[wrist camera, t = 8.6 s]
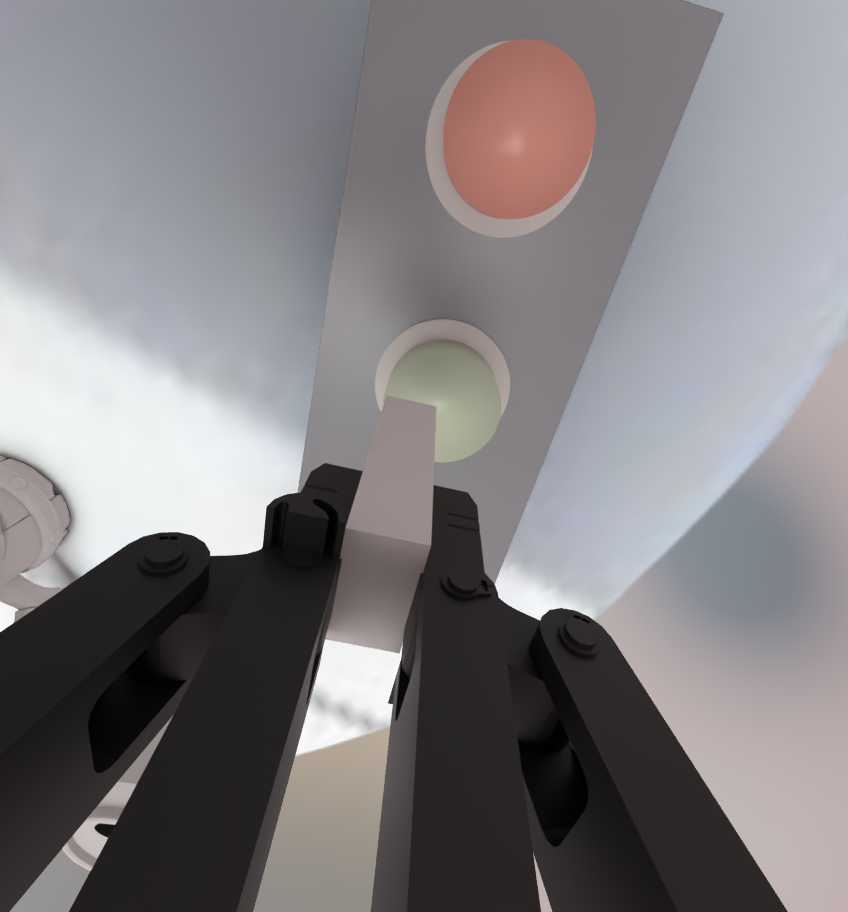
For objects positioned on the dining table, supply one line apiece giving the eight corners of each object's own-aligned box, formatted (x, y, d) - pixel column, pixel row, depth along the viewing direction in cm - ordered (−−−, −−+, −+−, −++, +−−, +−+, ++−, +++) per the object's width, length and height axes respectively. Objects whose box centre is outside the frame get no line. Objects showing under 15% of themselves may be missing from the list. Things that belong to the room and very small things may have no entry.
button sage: (400, 326, 21) (396, 336, 19) (511, 355, 21) (517, 367, 19) (377, 430, 23) (372, 447, 21) (478, 454, 23) (481, 473, 22)
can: (266, 646, 35) (187, 832, 25) (255, 711, 39) (182, 901, 28) (162, 624, 35) (36, 805, 24) (160, 691, 38) (48, 878, 27)
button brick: (464, 39, 17) (466, 17, 15) (602, 81, 17) (620, 65, 15) (428, 199, 19) (427, 197, 17) (551, 233, 19) (562, 235, 17)
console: (394, -50, 19) (385, -99, 16) (685, 42, 19) (726, 11, 17) (295, 568, 32) (280, 602, 29) (469, 606, 33) (471, 643, 30)
